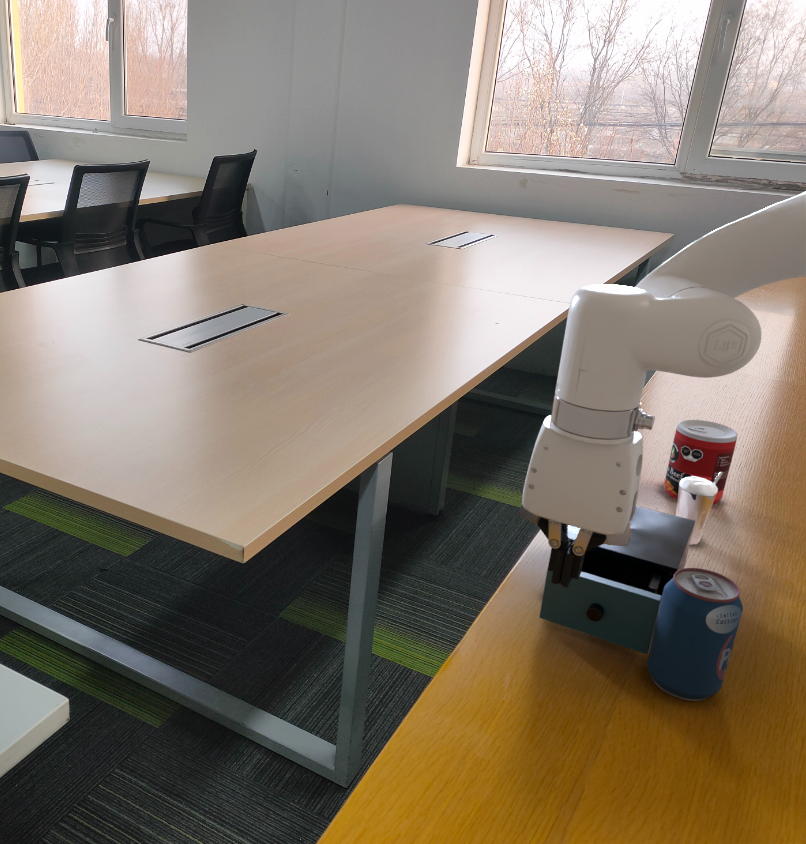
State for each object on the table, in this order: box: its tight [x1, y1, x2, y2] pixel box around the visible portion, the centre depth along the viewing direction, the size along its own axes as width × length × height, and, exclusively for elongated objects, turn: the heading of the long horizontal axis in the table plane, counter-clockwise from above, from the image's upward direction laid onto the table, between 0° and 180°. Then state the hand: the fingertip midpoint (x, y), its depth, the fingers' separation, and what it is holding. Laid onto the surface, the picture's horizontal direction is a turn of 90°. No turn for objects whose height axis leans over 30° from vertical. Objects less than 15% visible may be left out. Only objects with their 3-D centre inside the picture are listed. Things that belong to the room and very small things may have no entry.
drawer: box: [539, 550, 667, 655], centre depth 92 cm, size 14×11×7 cm
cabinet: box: [567, 505, 695, 624], centre depth 97 cm, size 14×13×9 cm
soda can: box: [646, 567, 744, 702], centre depth 81 cm, size 7×7×12 cm
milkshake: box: [674, 472, 723, 546], centre depth 109 cm, size 4×5×10 cm
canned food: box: [663, 419, 738, 506], centre depth 121 cm, size 8×8×11 cm
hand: (562, 579), depth 84 cm, fingers closed
